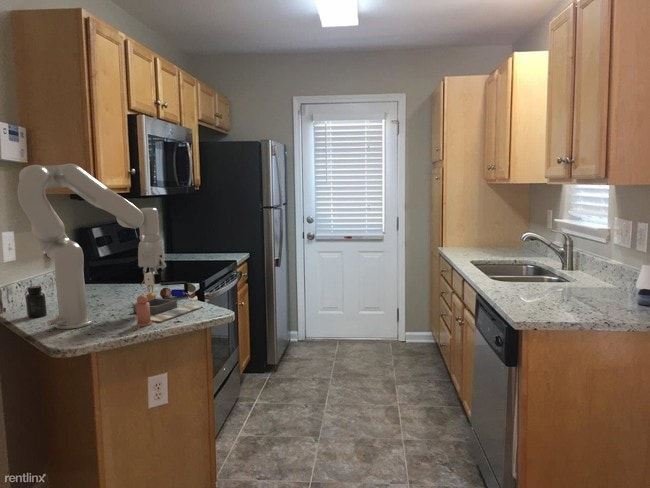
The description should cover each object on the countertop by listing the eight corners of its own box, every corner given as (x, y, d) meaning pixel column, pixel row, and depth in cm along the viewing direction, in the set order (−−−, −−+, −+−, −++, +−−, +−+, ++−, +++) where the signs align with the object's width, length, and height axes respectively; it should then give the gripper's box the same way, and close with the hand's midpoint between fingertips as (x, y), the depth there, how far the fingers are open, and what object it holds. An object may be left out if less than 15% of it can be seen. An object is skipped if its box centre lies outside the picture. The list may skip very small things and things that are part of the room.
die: (153, 285, 209) (152, 273, 209) (144, 284, 211) (143, 273, 211) (161, 283, 213) (161, 271, 213) (153, 282, 215) (152, 270, 215)
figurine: (140, 303, 226) (137, 276, 225) (144, 300, 232) (142, 273, 231) (159, 302, 226) (157, 275, 225) (163, 299, 232) (161, 272, 231)
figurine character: (192, 296, 243) (158, 297, 236) (193, 280, 243) (159, 280, 236) (195, 299, 237) (160, 300, 230) (196, 282, 237) (161, 282, 230)
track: (160, 322, 193) (160, 321, 193) (144, 320, 196) (144, 319, 196) (202, 307, 214) (202, 306, 214) (187, 306, 218) (187, 304, 218)
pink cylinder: (144, 327, 188) (141, 297, 186) (133, 326, 190) (131, 296, 189) (154, 323, 192) (152, 294, 191) (144, 322, 195) (142, 293, 193)
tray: (155, 314, 206) (155, 307, 205) (133, 312, 211) (133, 304, 211) (177, 307, 216) (176, 300, 216) (155, 305, 222) (154, 298, 221)
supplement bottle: (30, 314, 213) (27, 286, 211) (48, 313, 214) (45, 284, 213) (25, 319, 206) (22, 289, 205) (44, 317, 208) (41, 287, 206)
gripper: (127, 239, 211) (131, 283, 213) (159, 240, 203) (162, 286, 205) (141, 237, 217) (144, 280, 219) (172, 237, 210) (175, 282, 212)
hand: (153, 282), depth 212 cm, fingers closed on die, 4 cm apart
